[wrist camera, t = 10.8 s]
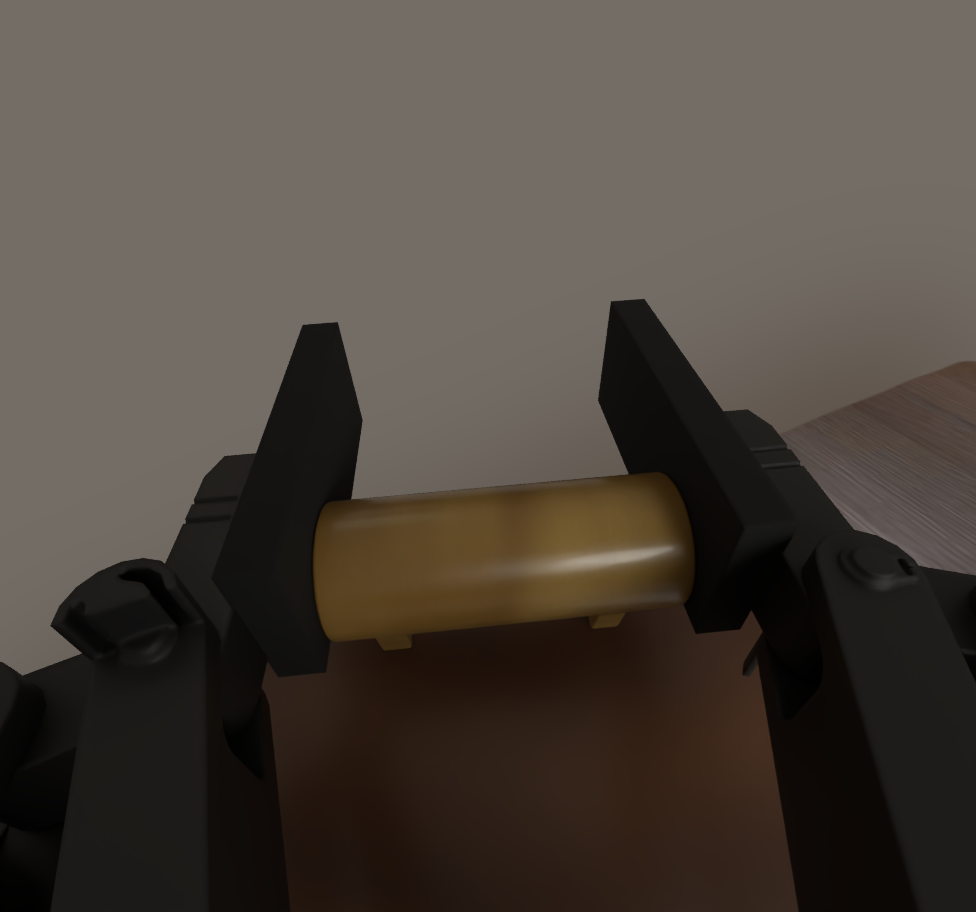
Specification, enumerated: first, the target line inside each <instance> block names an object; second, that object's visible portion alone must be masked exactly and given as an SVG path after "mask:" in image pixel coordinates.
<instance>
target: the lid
mask: <svg viewBox="0 0 976 912" xmlns="http://www.w3.org/2000/svg"><path fill="white" fill-rule="evenodd" d="M695 573H696V553H695V543H694V536H693V530H692V526H691V521H690V518H689V514H688V511H687V508H686V505H685V502H684V500H683V498H682V495H681V493H680V491H679V490H678V488H677V486H676V485H675V483H674V482H673V481H672V480H671V479H670V478H669V477H668V476H667V475H665V474H663V473H660V472H651V473H639V474H628V475H617V476H607V477H595V478H585V479H573V480H562V481H551V482H541V483H530V484H518V485H508V486H496V487H485V488H474V489H463V490H452V491H441V492H430V493H419V494H408V495H397V496H386V497H374V498H364V499H352V500H341V501H331V502H328V503H326V504H325V505H324V506H323V508H322V509H321V511H320V514H319V517H318V520H317V524H316V528H315V534H314V541H313V555H312V574H313V589H314V597H315V603H316V609H317V613H318V617H319V620H320V624H321V627H322V629H323V631H324V633H325V635H326V637H327V638H328V639H329V640H331V642H330V649H329V656H328V663H327V670H326V673H316V674H306V675H297V676H287V677H278V676H277V675H276V673H275V672H274V670H273V669H272V667H271V666H270V664H269V663H268V662H267V666H266V670H265V675H264V679H263V683H262V689H263V690H264V692H265V694H266V697H267V700H268V702H269V705H270V715H271V725H272V735H273V744H274V754H275V764H276V774H277V784H278V794H279V803H280V813H281V823H282V833H283V843H284V852H285V862H286V872H287V882H288V892H289V902H290V911H291V912H799V910H798V904H797V898H796V892H795V886H794V880H793V874H792V868H791V861H790V855H789V849H788V843H787V837H786V831H785V825H784V819H783V813H782V807H781V801H780V795H779V789H778V782H777V776H776V770H775V764H774V758H773V752H772V746H771V740H770V734H769V728H768V722H767V716H766V710H765V703H764V697H763V691H762V685H761V679H760V673H759V667H758V664H757V666H756V667H755V669H754V670H753V672H752V673H751V675H750V676H749V677H748V676H742V671H743V662H744V661H745V659H746V658H747V656H748V654H749V653H750V651H751V650H752V648H753V646H754V645H755V643H756V642H757V640H758V638H759V637H760V635H761V633H762V632H763V631H762V629H761V627H760V625H759V624H758V622H757V620H756V618H755V616H754V614H753V612H752V610H751V612H750V613H749V615H748V617H747V619H746V620H745V622H744V624H743V626H742V628H741V629H740V630H731V631H721V632H712V633H702V634H695V631H694V629H693V627H692V624H691V622H690V619H689V617H688V615H687V612H686V610H685V607H684V605H683V604H685V603H686V602H687V601H688V599H689V598H690V596H691V594H692V590H693V587H694V582H695Z"/></svg>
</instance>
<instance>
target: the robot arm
mask: <svg viewBox="0 0 976 912" xmlns="http://www.w3.org/2000/svg"><path fill="white" fill-rule="evenodd" d="M598 401H599V404H600V406H601V409H602V411H603V413H604V416H605V418H606V420H607V423H608V425H609V428H610V430H611V432H612V435H613V437H614V440H615V442H616V444H617V447H618V449H619V451H620V454H621V456H622V459H623V461H624V464H625V466H626V468H627V471H628V473H629V474H639V473H651V472H660V473H663V474H665V475H667V476H668V477H669V478H670V479H671V480H672V481H673V482H674V483H675V485H676V486H677V488H678V490H679V491H680V493H681V495H682V498H683V500H684V502H685V505H686V508H687V511H688V514H689V518H690V521H691V526H692V530H693V536H694V543H695V553H696V573H695V582H694V587H693V590H692V594H691V596H690V598H689V599H688V601H687V602H686V603H685V604H683V605H684V607H685V610H686V612H687V615H688V617H689V619H690V622H691V624H692V627H693V629H694V631H695V634H702V633H712V632H721V631H731V630H740V629H741V628H742V626H743V624H744V622H745V620H746V619H747V617H748V615H749V613H750V612H751V610H752V612H753V614H754V616H755V618H756V620H757V622H758V624H759V625H760V627H761V629H762V631H763V632H762V633H761V635H760V637H759V638H758V640H757V642H756V643H755V645H754V646H753V648H752V650H751V651H750V653H749V654H748V656H747V658H746V659H745V661H744V662H743V671H742V676H748V677H749V676H750V675H751V673H752V672H753V670H754V669H755V667H756V666H757V664H758V667H759V673H760V679H761V685H762V691H763V697H764V703H765V710H766V716H767V722H768V728H769V734H770V740H771V746H772V752H773V758H774V764H775V770H776V776H777V782H778V789H779V795H780V801H781V807H782V813H783V819H784V825H785V831H786V837H787V843H788V849H789V855H790V861H791V868H792V874H793V880H794V886H795V892H796V898H797V904H798V910H799V912H976V576H975V575H969V574H963V573H957V572H951V571H945V570H939V569H933V568H927V567H922V566H918V564H917V563H916V561H915V560H914V559H913V558H912V557H910V556H909V555H908V554H907V553H905V552H904V551H903V550H902V549H900V548H899V547H898V546H897V545H895V544H893V543H891V542H889V541H887V540H885V539H883V538H881V537H879V536H877V535H873V534H869V533H865V532H861V531H857V530H854V529H853V528H852V527H851V525H850V524H849V523H848V522H847V520H846V519H845V518H844V517H843V515H842V514H841V513H840V511H839V510H838V509H837V508H836V506H835V505H834V504H833V503H832V501H831V500H830V499H829V498H828V496H827V495H826V494H825V492H824V491H823V490H822V489H821V487H820V486H819V485H818V484H817V482H816V481H815V480H814V479H813V477H812V476H811V475H810V473H809V472H808V471H807V470H806V468H805V467H804V466H800V461H799V460H798V458H797V457H796V456H795V454H794V453H793V452H792V451H791V449H789V450H788V449H787V444H786V443H785V442H784V441H783V439H782V438H781V437H780V436H779V434H778V433H777V432H776V430H775V429H774V428H773V427H772V426H771V425H770V424H768V423H767V422H765V421H764V420H762V419H761V418H760V417H758V416H757V415H755V414H753V413H752V412H751V411H749V410H736V411H724V412H723V410H722V409H721V408H720V406H719V405H718V403H717V402H716V400H715V399H714V398H713V396H712V395H711V393H710V392H709V390H708V389H707V388H706V386H705V385H704V383H703V382H702V380H701V379H700V378H699V376H698V375H697V373H696V372H695V370H694V369H693V368H692V366H691V365H690V364H689V362H688V360H687V359H686V358H685V356H684V355H683V353H682V352H681V351H680V349H679V348H678V346H677V345H676V343H675V342H674V341H673V339H672V338H671V336H670V335H669V333H668V332H667V331H666V329H665V328H664V326H663V325H662V323H661V322H660V321H659V319H658V318H657V316H656V315H655V313H654V312H653V311H652V309H651V308H650V306H649V305H648V304H647V302H646V301H645V299H637V300H624V301H611V306H610V313H609V321H608V328H607V336H606V344H605V352H604V359H603V367H602V374H601V383H600V390H599V398H598ZM361 428H362V416H361V412H360V408H359V405H358V401H357V396H356V392H355V389H354V385H353V381H352V377H351V373H350V369H349V365H348V361H347V357H346V353H345V349H344V345H343V341H342V338H341V334H340V330H339V325H338V322H335V323H322V324H308V325H303V326H302V329H301V331H300V334H299V337H298V339H297V342H296V345H295V348H294V350H293V353H292V356H291V359H290V361H289V364H288V367H287V370H286V373H285V375H284V378H283V381H282V384H281V386H280V389H279V392H278V395H277V397H276V400H275V403H274V406H273V409H272V411H271V414H270V417H269V419H268V422H267V425H266V428H265V430H264V433H263V436H262V439H261V441H260V444H259V447H258V450H257V452H256V453H255V454H243V455H232V456H224V457H223V459H222V460H220V461H219V463H218V464H217V465H216V466H215V467H214V468H213V469H212V470H211V471H210V472H209V473H208V474H207V475H206V476H205V477H204V479H203V481H202V483H201V485H200V488H199V490H198V492H197V494H196V496H195V499H194V502H195V503H194V504H193V505H192V506H191V508H190V510H189V512H188V514H187V516H186V519H185V520H186V524H183V525H182V527H181V530H180V532H179V534H178V536H177V539H176V541H175V543H174V545H173V548H172V550H171V552H170V554H169V556H168V559H167V561H166V563H165V564H164V563H163V562H162V561H159V560H152V559H146V558H141V559H135V560H129V561H123V562H120V563H117V564H115V565H113V566H111V567H108V568H106V569H104V570H101V571H99V572H97V573H96V574H94V575H93V576H92V577H90V578H89V579H87V580H86V581H85V582H83V583H82V584H80V585H79V586H78V587H76V588H75V589H74V590H73V592H72V593H71V594H70V595H69V596H68V597H67V598H66V599H65V600H64V602H63V603H62V604H61V605H60V606H59V608H58V610H57V612H56V615H55V617H54V619H53V621H52V623H51V627H53V628H54V629H55V630H56V631H57V632H58V633H59V634H60V635H62V636H63V637H64V638H65V639H66V640H67V641H69V642H70V643H71V644H72V645H73V646H74V647H76V648H77V649H78V650H79V651H80V652H82V654H80V655H77V656H74V657H72V658H69V659H66V660H63V661H61V662H58V663H55V664H53V665H50V666H47V667H45V668H42V669H39V670H37V671H34V672H31V673H29V674H26V675H23V676H22V675H21V674H19V673H18V672H17V671H15V670H14V669H12V668H11V667H9V666H7V665H5V664H4V663H3V662H0V912H291V911H290V902H289V892H288V882H287V872H286V862H285V852H284V843H283V833H282V823H281V813H280V803H279V794H278V784H277V774H276V764H275V754H274V744H273V735H272V725H271V715H270V705H269V702H268V700H267V697H266V694H265V692H264V690H263V689H262V683H263V679H264V675H265V670H266V666H267V662H268V663H269V664H270V666H271V667H272V669H273V670H274V672H275V673H276V675H277V676H278V677H287V676H297V675H306V674H316V673H326V670H327V663H328V656H329V649H330V642H331V640H329V639H328V638H327V637H326V635H325V633H324V631H323V629H322V627H321V624H320V620H319V617H318V613H317V609H316V603H315V597H314V589H313V574H312V555H313V541H314V534H315V528H316V524H317V520H318V517H319V514H320V511H321V509H322V508H323V506H324V505H325V504H326V503H328V502H331V501H341V500H351V497H352V490H353V483H354V475H355V469H356V462H357V455H358V448H359V441H360V435H361Z"/></svg>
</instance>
